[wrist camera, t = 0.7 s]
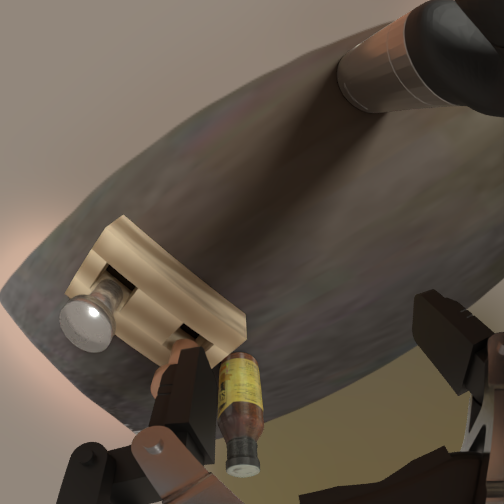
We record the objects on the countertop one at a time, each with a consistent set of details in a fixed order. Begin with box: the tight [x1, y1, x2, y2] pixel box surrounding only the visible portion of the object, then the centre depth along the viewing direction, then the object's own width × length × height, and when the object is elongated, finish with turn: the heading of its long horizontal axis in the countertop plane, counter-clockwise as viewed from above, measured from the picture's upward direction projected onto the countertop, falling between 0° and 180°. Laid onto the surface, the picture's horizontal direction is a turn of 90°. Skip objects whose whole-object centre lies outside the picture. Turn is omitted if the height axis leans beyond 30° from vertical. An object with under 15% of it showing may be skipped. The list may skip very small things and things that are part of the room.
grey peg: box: [60, 279, 123, 353], centre depth 30 cm, size 6×6×8 cm
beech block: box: [65, 215, 247, 369], centre depth 39 cm, size 12×22×6 cm, turn 47°
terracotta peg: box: [151, 339, 199, 399], centre depth 33 cm, size 6×6×8 cm
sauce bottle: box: [218, 352, 264, 477], centre depth 38 cm, size 6×6×20 cm
